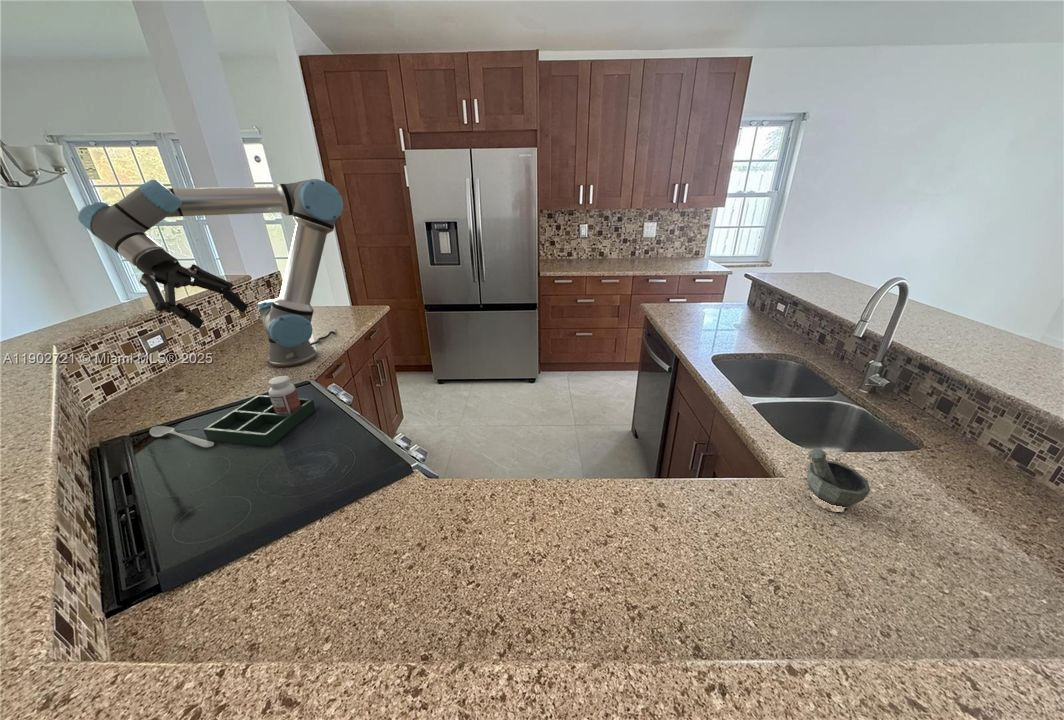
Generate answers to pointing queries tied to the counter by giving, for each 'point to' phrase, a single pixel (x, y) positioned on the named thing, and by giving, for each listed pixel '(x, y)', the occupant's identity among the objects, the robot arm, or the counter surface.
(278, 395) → the pill bottle
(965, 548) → the counter surface
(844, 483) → the mortar and pestle
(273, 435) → the grid
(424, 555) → the counter surface
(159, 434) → the spoon
